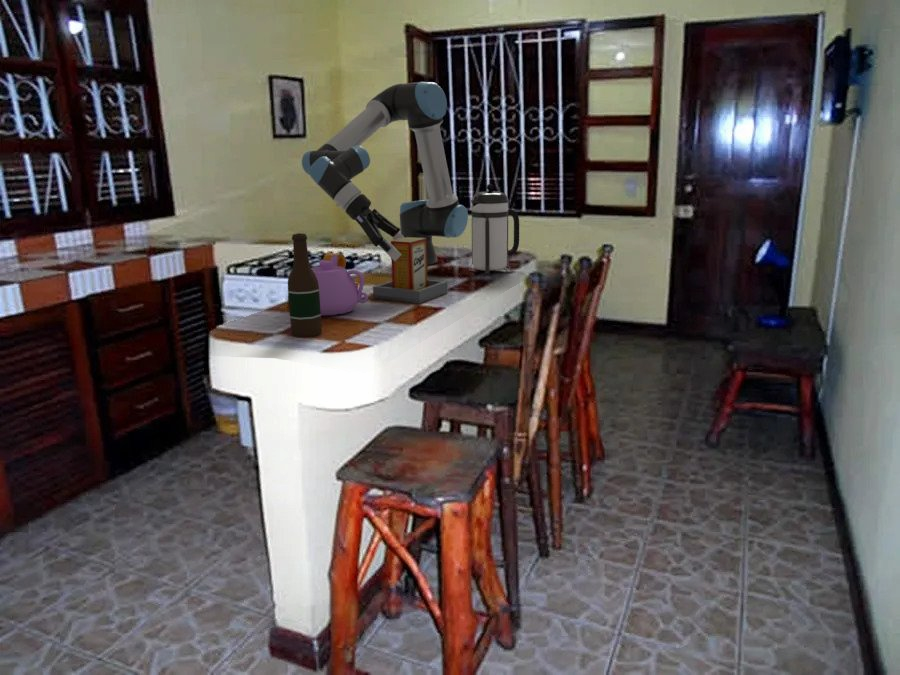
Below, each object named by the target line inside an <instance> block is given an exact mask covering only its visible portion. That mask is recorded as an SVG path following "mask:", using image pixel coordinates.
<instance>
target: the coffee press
mask: <svg viewBox="0 0 900 675" xmlns="http://www.w3.org/2000/svg"><path fill="white" fill-rule="evenodd" d="M493 189H494V186H493V184H492V183H489V184H487V185H486V190H487V191H480V192H476V193H474V195H473V196H472V199H471V200H470V203H471V206H470V211H471V265H470V266H469V268H468V271H471V269H470V268H471V267H472V266H473V269H474V270H478V271H479V270H480V271H484V276H485V275H489V276H490V273H491V271H501V270H504V271H505V272H507V273H508V274H509V273H511V272H512V267H510V265H509V257H510V256H513V255H515V254H516V252H517V251H518V249H519V246H520V218H519V215H518V213H517V212H516V210H514V209H510V208H509V202H510V200H509V198H508V195H507V194H506V193H504V192H501V191H493ZM508 208H509V209H508ZM509 215H510V216H511V217H512V219H513V244H512V248H511V249H510V250H509ZM506 267H508V268H509V270H510V271H508V270H507V268H506Z"/></svg>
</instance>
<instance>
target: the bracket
mask: <svg viewBox="0 0 900 675" xmlns="http://www.w3.org/2000/svg"><path fill="white" fill-rule="evenodd" d="M333 255H337V266H339V267H343V268H345V269H346V265H347V260H346V257H345V255H344V254H342V253H329V252H328V253H325V255H324V256H323V257H322V258H323V259H322V261H331V257H332V256H333ZM354 282H355V284H356V286H357V289H358V290H359V282H358V281H354Z"/></svg>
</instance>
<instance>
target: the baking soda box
mask: <svg viewBox="0 0 900 675" xmlns="http://www.w3.org/2000/svg"><path fill="white" fill-rule="evenodd" d="M390 243H391V244H392V245H393V246H394V247H395V248H396V249H397V250H398V251H399V252H400V253H401V254H402V255H401V256H400V257H399V258H398V259H397V260H396V261H394V260H393V259H392V258H391V257H390V259H391V261H390V262H391V279H392V280H391V281H392V287H393V288H400V289H410V290H420V289H423V288H426V287H428V282H427V280H428V265H427V241H426V238H414V237H406V238H399V239H396V240H393V239H392V240H390Z"/></svg>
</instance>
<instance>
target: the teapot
mask: <svg viewBox="0 0 900 675" xmlns="http://www.w3.org/2000/svg"><path fill="white" fill-rule="evenodd" d="M318 263H319V266H315V267H314V266H313V267H310V268H311V269H312V270H313V272H314V273H315V275H316V277H317V280H318V285H319V296H320V310H321V316H338V315H337V314H342V315H343V314H347V313H350V312H351V311H354V310H355V309H356V307H357V306H358V304H359V303H361V304H364V303H367V302H368V300H369V295H368V294H367V293H366V292H363V290H364V285H365V276H364V274H363V273H362V272H361V271H359V270H356V269H350V270H347V269H346V267H345V268H343V267H339V266H337V255H333V256H332V257H331V261H323V260H320V261H319V262H318ZM351 275H357V277H359V285H358V289H357V286H356V284H355V282H356V281H355V280H354V279H353V277H352V276H351ZM362 296H363V297H364V298H362ZM287 301H288V302H289V297H288V296H287Z"/></svg>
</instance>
